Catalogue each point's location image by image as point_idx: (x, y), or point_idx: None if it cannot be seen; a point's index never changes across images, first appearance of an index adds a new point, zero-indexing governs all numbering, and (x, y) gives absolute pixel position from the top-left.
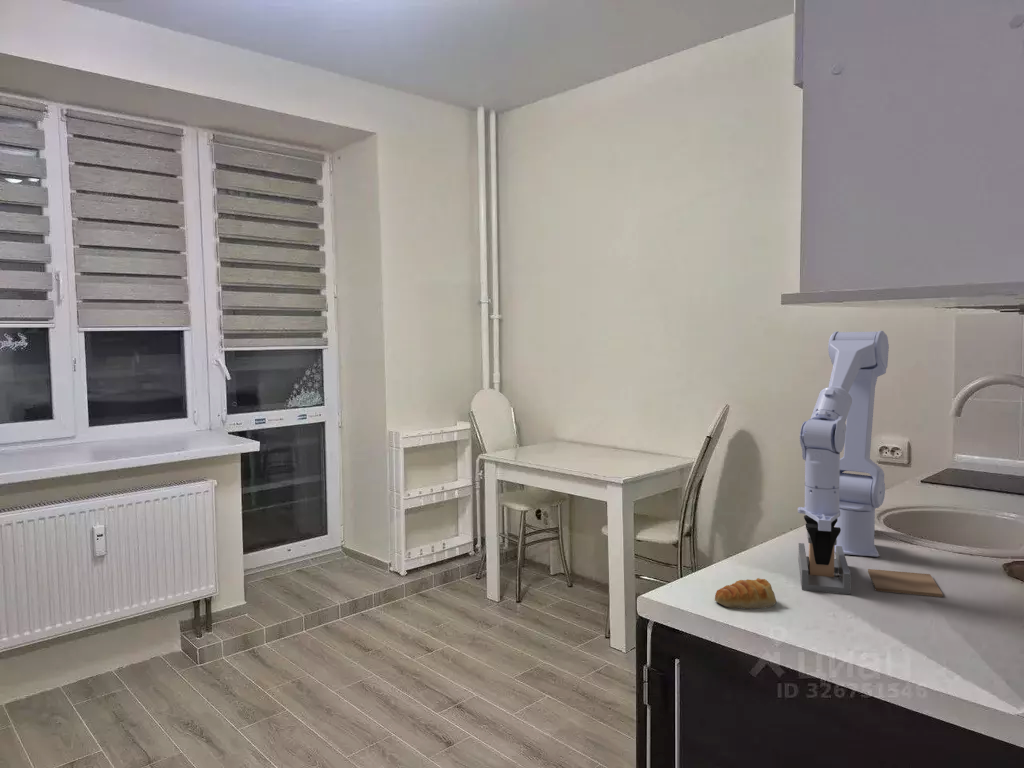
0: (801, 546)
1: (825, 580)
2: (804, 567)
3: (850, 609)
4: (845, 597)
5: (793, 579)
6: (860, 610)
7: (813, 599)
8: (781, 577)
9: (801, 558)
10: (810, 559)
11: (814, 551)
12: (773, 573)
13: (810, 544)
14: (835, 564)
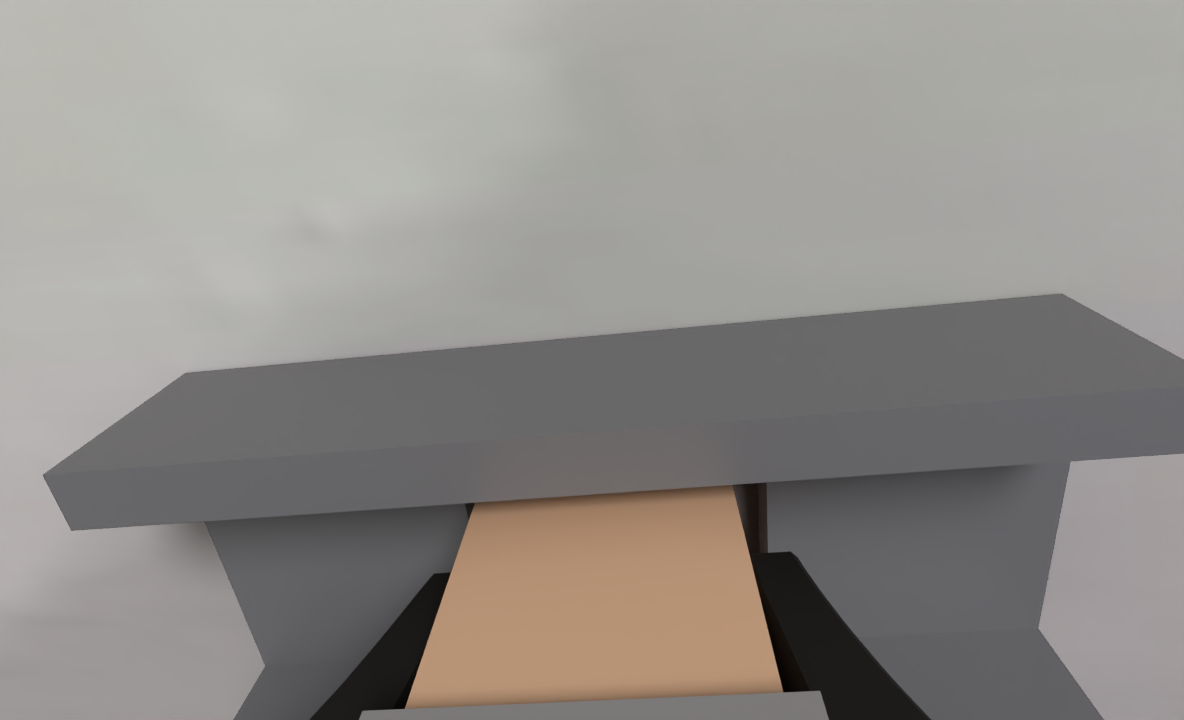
0: (1041, 426)
1: (367, 560)
2: (141, 494)
3: (23, 654)
4: (224, 635)
5: (425, 287)
6: (50, 697)
7: (32, 459)
8: (427, 169)
9: (474, 451)
10: (464, 543)
11: (343, 685)
12: (521, 68)
13: (408, 706)
14: (855, 624)
